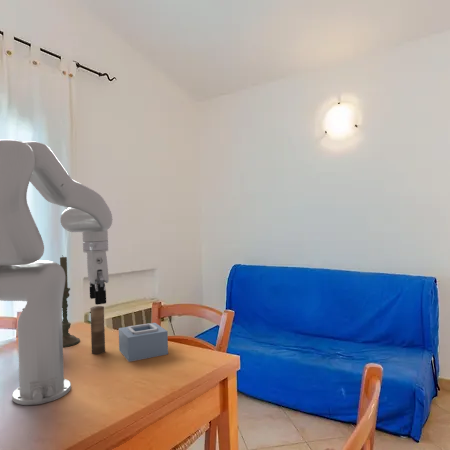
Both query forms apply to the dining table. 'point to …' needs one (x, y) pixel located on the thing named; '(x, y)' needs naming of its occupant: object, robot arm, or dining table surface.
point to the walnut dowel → (97, 330)
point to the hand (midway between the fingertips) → (97, 300)
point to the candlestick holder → (67, 338)
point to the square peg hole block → (143, 341)
